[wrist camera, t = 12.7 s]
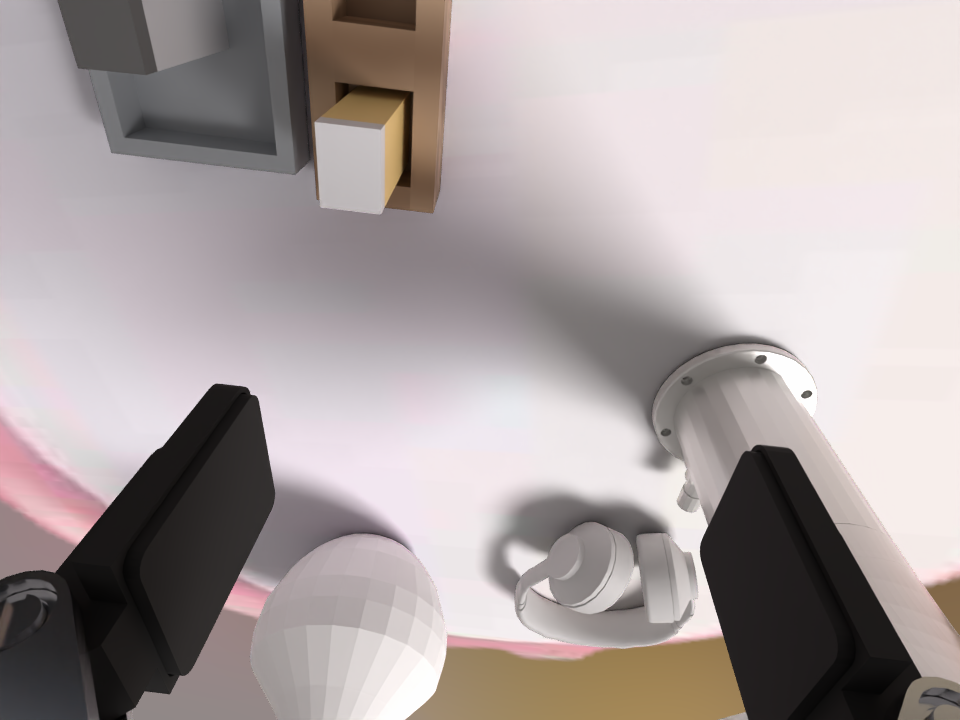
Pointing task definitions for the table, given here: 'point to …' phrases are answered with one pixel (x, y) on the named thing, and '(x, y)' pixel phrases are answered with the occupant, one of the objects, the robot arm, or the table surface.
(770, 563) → the robot arm
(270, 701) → the vase
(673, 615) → the headphones
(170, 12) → the block
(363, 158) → the block
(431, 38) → the block
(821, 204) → the table surface
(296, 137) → the parts tray
